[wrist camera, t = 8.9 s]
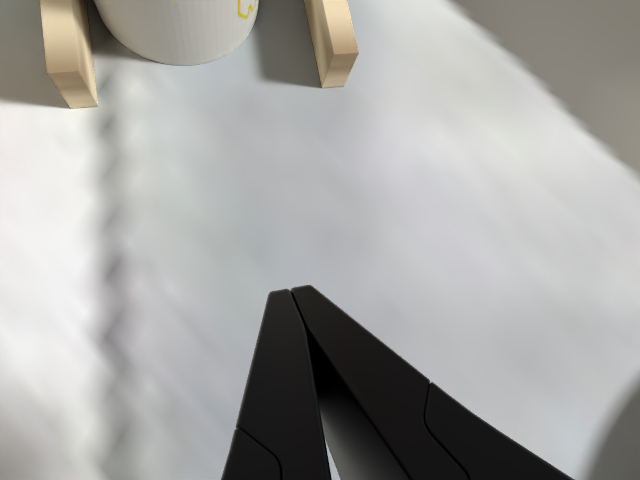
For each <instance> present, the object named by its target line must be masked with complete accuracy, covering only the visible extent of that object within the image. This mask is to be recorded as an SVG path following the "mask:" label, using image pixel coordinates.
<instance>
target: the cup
mask: <svg viewBox="0 0 640 480" xmlns="http://www.w3.org/2000/svg"><path fill="white" fill-rule="evenodd" d="M94 1H95V4H96V6H97V9H98V12H99V14H100V16H101V18H102V20H103V22H104V24H105V25H106V27H107V28H108V30H109V31H110V32H111V33H112V34H113V36H114V37H115V38H116V39H117V40H118V41H119V42H121V43H122V44H123V45H124V46H126V47H127V48H128V49H130V50H131V51H133V52H135V53H137V54H139V55H140V56H143V57H145V58H147V59H150V60H153V61H156V62H160V63H164V64H170V65H180V66H188V65H198V64H203V63H208V62H211V61H214V60H217V59H219V58H221V57H223V56H225V55H227V54H229V53H230V52H232V51H233V50H234V49H236V48H237V47H238V46H239V45H240V44H241V43H242V42H243V41H244V40H245V39H246V37H247V36H248V35H249V33H250V31H251V30H252V28H253V26H254V23H255V20H256V17H257V12H258V3H259V0H94Z"/></svg>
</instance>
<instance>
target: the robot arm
mask: <svg viewBox="0 0 640 480" xmlns="http://www.w3.org/2000/svg"><path fill="white" fill-rule="evenodd" d="M325 439H326V442H327V445H328V447H329V450H330V452H331V455H332V458H333V460H334V463H335V466H336V468H337V471H338V474H339V476H340V479H341V480H574V479H573V478H571V477H569V476H568V475H566V474H565V473H563V472H562V471H560V470H558V469H557V468H555V467H554V466H552V465H551V464H549V463H548V462H546V461H545V460H543V459H542V458H540V457H538V456H537V455H535V454H534V453H532V452H531V451H529V450H528V449H526V448H525V447H523V446H521V445H520V444H518V443H517V442H515V441H514V440H512V439H511V438H509V437H508V436H506V435H505V434H503V433H501V432H500V431H498V430H497V429H496V428H494V427H493V426H491V425H490V424H488V423H487V422H485V421H484V420H482V419H481V418H479V417H478V416H476V415H475V414H474V413H472V412H471V411H469V410H468V409H467V408H465V407H464V406H463V405H462V404H460V403H459V402H458V401H456V400H455V399H454V398H452V397H451V396H450V395H448V394H447V393H446V392H445V391H443V390H442V389H441V388H439V387H438V386H437V385H436V384H434V383H433V382H431V383H430V380H429V379H428V378H427V377H425V376H424V375H423V374H422V373H420V372H419V371H418V370H417V369H415V368H414V367H413V366H412V365H410V364H409V363H408V362H407V361H405V360H404V359H403V358H402V357H400V356H399V355H398V354H397V353H395V352H394V351H393V350H392V349H390V348H389V347H388V346H387V345H385V344H384V343H383V342H382V341H380V340H379V339H378V338H377V337H375V336H374V335H373V334H372V333H370V332H369V331H368V330H367V329H365V328H364V327H363V326H362V325H360V324H359V323H358V322H357V321H355V320H354V319H353V318H352V317H350V316H349V315H348V314H347V313H345V312H344V311H343V310H342V309H340V308H339V307H338V306H337V305H335V304H334V303H333V302H332V301H330V300H329V299H328V298H326V297H325V296H324V295H323V294H321V293H320V292H319V291H318V290H316V289H315V288H314V287H313V286H311V285H305V286H300V287H294V288H292V289H291V291H290V290H289V289H283V290H277V291H272V292H270V293H269V295H268V298H267V302H266V306H265V311H264V315H263V319H262V323H261V327H260V331H259V335H258V339H257V343H256V347H255V351H254V355H253V359H252V363H251V367H250V371H249V375H248V379H247V383H246V387H245V391H244V395H243V399H242V403H241V407H240V411H239V415H238V419H237V423H236V429H235V431H234V434H233V438H232V442H231V446H230V450H229V454H228V457H227V461H226V464H225V467H224V471H223V474H222V478H221V480H332V479H331V473H330V467H329V461H328V455H327V449H326V443H325Z"/></svg>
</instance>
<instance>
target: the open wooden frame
mask: <svg viewBox="0 0 640 480" xmlns="http://www.w3.org/2000/svg"><path fill="white" fill-rule="evenodd" d="M304 4H305V8H306V13H307V18H308V23H309V28H310V32H311V37H312V42H313V47H314V52H315V57H316V61H317V66H318V71H319V76H320V81H321V86H322V88H328V87H340V86H344V85H345V82H346V80H347V78H348V76H349V73H350V71H351V69H352V67H353V64H354V62H355V60H356V58H357V56H358V53H359V52H358V47H357V43H356V39H355V34H354V30H353V25H352V21H351V16H350V12H349V7H348V3H347V0H304ZM40 7H41V17H42V27H43V38H44V48H45V58H46V69H47V74H48V76H49V77H50V79H51V80H52V81H53V83H54V84H55V86H56V87H57V89H58V90H59V92H60V93H61V95H62V96H63V98H64V99H65V101H66V102H67V104H68V105H69V106H70V108H82V107H95V106H98V100H97V92H96V83H95V74H94V66H93V57H92V49H91V40H90V31H89V23H88V14H87V6H86V0H40Z"/></svg>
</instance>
